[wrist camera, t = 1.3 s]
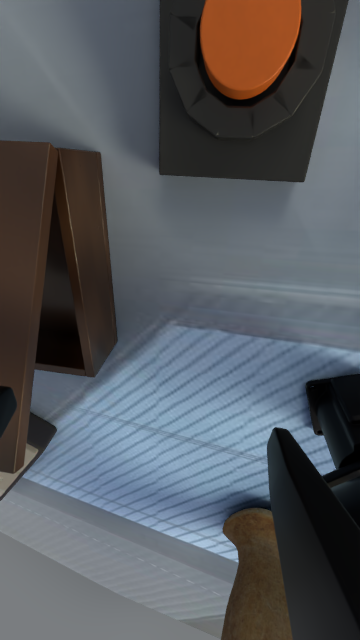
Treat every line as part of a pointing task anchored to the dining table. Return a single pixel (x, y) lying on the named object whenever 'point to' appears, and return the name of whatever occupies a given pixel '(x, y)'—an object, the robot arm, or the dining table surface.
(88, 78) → the dining table surface
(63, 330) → the wooden box
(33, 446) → the calculator
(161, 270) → the dining table surface
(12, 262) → the lid
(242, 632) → the stone cup
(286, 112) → the control block
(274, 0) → the button
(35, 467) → the dining table surface
